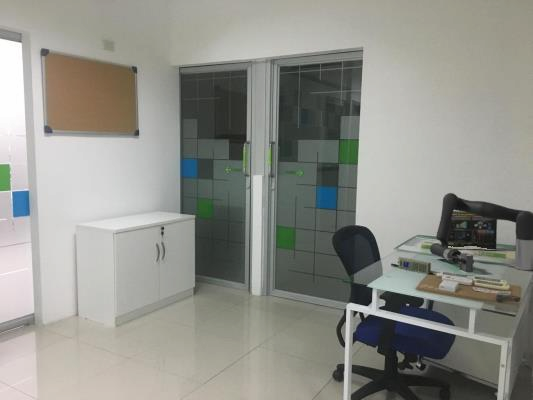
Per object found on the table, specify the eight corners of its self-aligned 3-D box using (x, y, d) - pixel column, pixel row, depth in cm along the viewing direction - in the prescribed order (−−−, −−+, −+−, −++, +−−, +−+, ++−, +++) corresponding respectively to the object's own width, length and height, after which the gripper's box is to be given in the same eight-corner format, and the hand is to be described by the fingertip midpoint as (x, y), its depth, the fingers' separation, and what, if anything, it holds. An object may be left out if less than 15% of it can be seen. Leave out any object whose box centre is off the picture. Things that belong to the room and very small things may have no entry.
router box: (491, 248, 326) (493, 210, 324) (497, 251, 315) (499, 212, 313) (439, 246, 332) (440, 210, 329) (443, 249, 321) (444, 211, 318)
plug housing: (459, 269, 255) (460, 253, 255) (466, 269, 256) (466, 253, 255) (466, 272, 249) (466, 255, 248) (472, 271, 249) (473, 255, 249)
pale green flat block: (438, 266, 269) (439, 258, 268) (461, 265, 270) (461, 257, 270) (458, 275, 247) (459, 266, 246) (483, 275, 248) (483, 265, 248)
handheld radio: (427, 275, 249) (389, 266, 269) (431, 274, 251) (392, 266, 271) (428, 263, 249) (390, 255, 268) (431, 262, 251) (393, 255, 270)
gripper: (441, 249, 265) (457, 255, 248) (464, 248, 267) (481, 255, 250) (441, 262, 266) (456, 269, 249) (464, 261, 267) (481, 268, 250)
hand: (469, 262), depth 249 cm, fingers closed on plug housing, 3 cm apart
